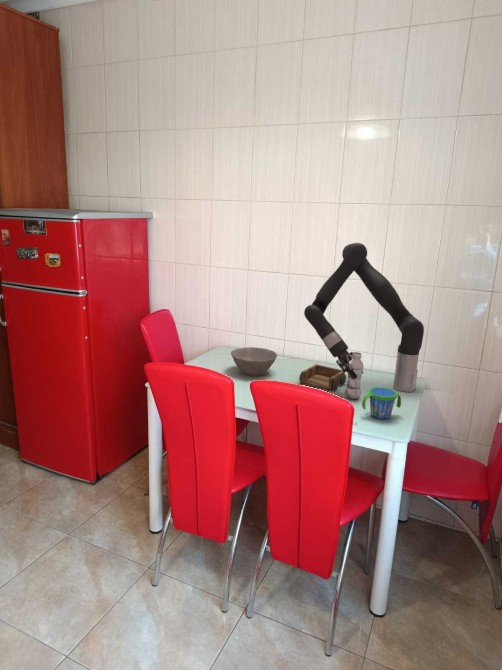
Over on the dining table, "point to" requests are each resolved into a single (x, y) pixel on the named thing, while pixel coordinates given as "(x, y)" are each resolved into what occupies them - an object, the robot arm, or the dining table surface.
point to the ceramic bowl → (253, 360)
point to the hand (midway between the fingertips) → (358, 376)
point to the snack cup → (381, 402)
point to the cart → (322, 377)
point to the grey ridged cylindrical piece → (355, 384)
